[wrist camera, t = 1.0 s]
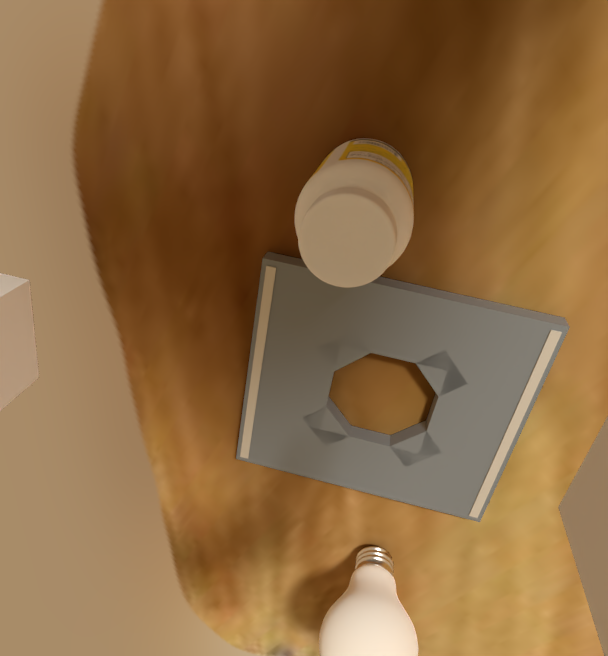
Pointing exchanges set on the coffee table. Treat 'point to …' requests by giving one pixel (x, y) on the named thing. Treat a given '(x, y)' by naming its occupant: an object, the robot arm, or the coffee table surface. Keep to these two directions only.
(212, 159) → the coffee table surface
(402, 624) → the light bulb
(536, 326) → the socket board
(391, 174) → the supplement bottle
